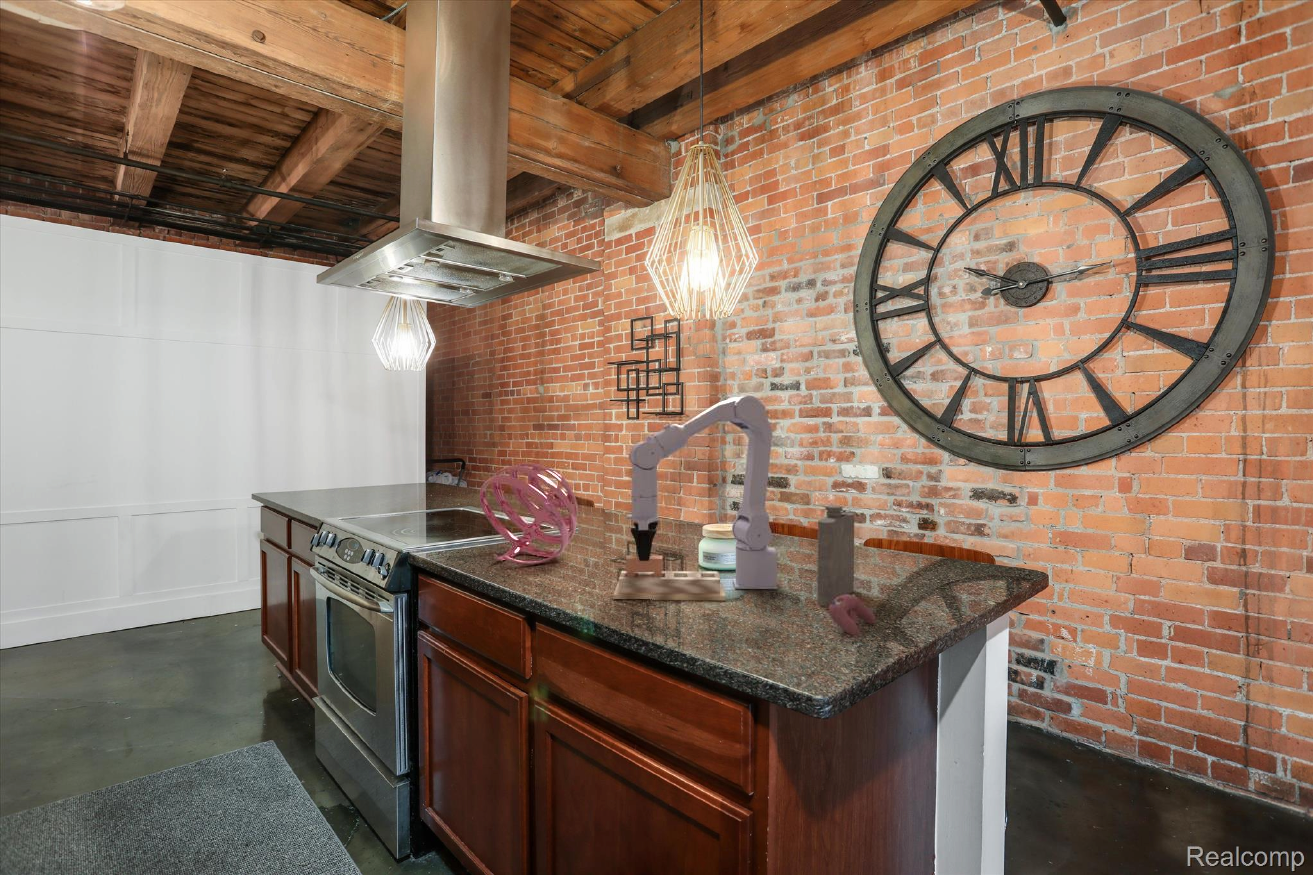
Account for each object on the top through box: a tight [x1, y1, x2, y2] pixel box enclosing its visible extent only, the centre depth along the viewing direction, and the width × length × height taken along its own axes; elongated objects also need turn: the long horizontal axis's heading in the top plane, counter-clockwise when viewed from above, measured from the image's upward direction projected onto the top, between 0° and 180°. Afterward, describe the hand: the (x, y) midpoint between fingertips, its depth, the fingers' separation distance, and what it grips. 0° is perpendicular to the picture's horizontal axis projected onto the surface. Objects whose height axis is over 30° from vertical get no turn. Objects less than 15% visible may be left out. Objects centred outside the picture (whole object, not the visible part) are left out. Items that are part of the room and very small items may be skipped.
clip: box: [625, 555, 663, 577], centre depth 142 cm, size 8×3×7 cm, turn 88°
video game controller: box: [828, 593, 876, 636], centre depth 120 cm, size 10×5×7 cm, turn 141°
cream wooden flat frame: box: [613, 570, 726, 601], centre depth 142 cm, size 24×11×4 cm, turn 88°
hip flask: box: [816, 504, 855, 607], centre depth 139 cm, size 16×4×20 cm, turn 144°
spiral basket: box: [479, 462, 579, 566], centre depth 174 cm, size 28×28×27 cm
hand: (645, 556), depth 142 cm, fingers open, 7 cm apart
